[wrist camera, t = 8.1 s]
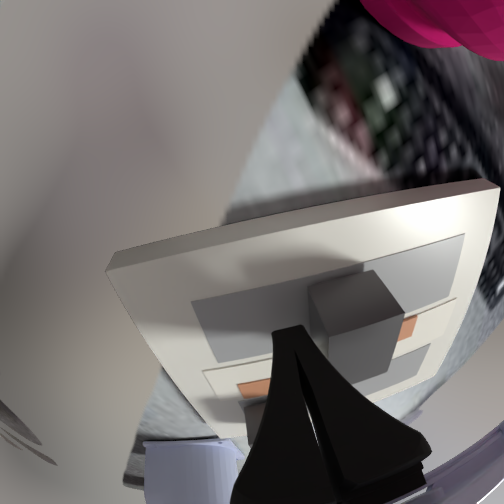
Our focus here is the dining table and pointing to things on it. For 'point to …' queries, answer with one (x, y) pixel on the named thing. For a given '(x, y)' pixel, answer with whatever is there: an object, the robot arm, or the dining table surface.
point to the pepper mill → (444, 23)
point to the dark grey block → (253, 420)
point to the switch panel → (304, 288)
